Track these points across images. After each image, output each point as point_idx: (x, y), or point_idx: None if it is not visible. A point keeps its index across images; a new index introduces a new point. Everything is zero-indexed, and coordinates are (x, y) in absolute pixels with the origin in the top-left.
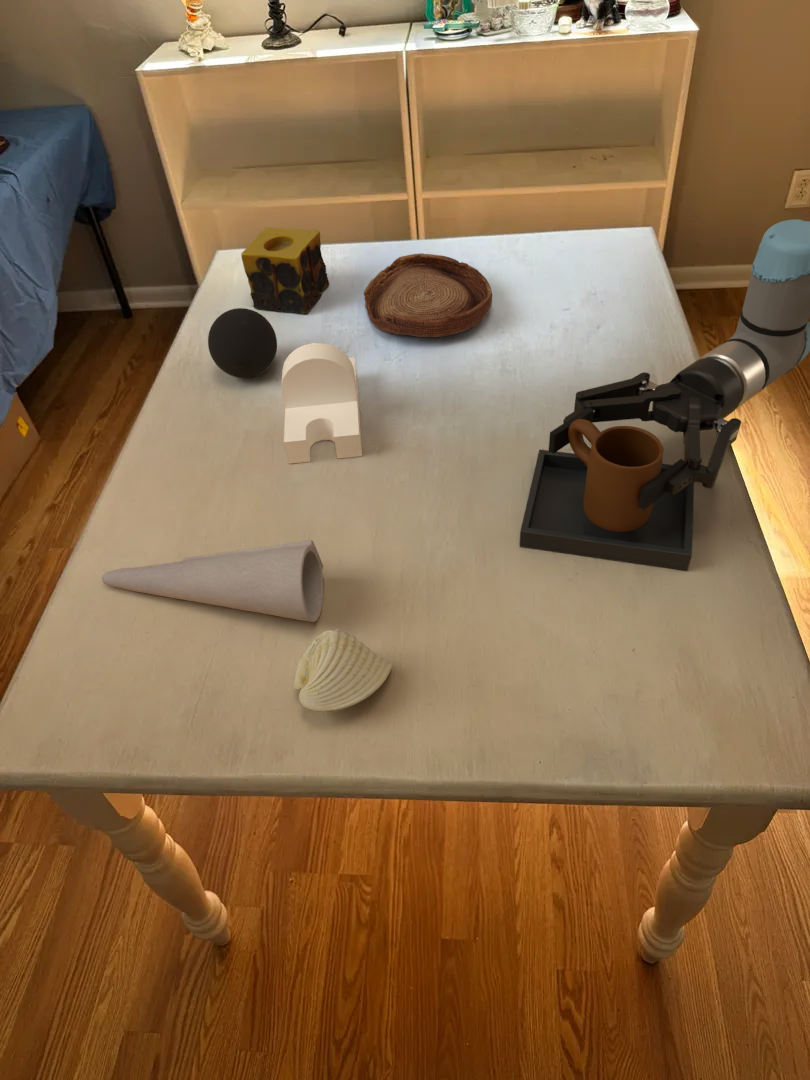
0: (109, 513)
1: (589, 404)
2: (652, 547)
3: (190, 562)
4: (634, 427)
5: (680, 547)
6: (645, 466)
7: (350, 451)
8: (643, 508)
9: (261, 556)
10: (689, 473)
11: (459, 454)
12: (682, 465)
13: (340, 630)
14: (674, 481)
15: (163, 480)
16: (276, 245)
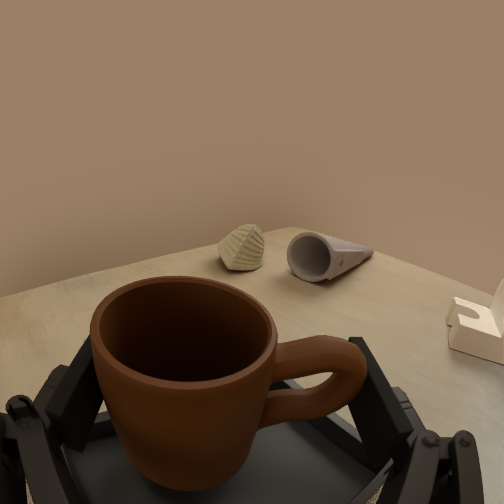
0: (417, 267)
1: (424, 438)
2: (100, 416)
3: (356, 245)
4: (220, 381)
5: (77, 470)
6: (114, 291)
7: (451, 336)
8: None
9: (335, 239)
10: (37, 403)
11: (437, 408)
12: (51, 397)
13: (254, 229)
14: (62, 371)
15: (438, 282)
16: None
